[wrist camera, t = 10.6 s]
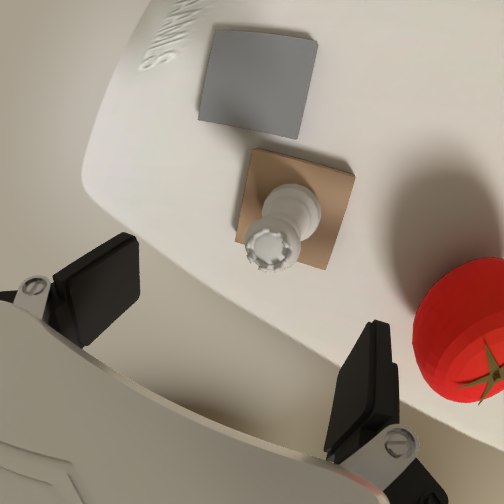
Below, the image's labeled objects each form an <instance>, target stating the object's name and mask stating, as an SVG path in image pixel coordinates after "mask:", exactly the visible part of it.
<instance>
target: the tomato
mask: <svg viewBox="0 0 504 504" xmlns="http://www.w3.org/2000/svg"><path fill="white" fill-rule="evenodd" d="M412 344H413V349H414V353H415V357H416V362H417V364H418V366H419V369H420V371H421V373H422V376H423V378H424V379H425V381H426V382H427V383H428V384H429V386H430V387H431V388H432V389H433V390H434V391H435V392H436V393H438V394H439V395H441V396H442V397H444V398H446V399H448V400H451V401H455V402H461V403H471V402H476V401H480V402H479V404H480V403H481V402H482V401H483V399H486V398H489V397H491V396H493V395H495V394H497V393H499V392H500V391H502V390H503V389H504V260H503V259H499V258H495V257H491V258H483V259H476V260H473V261H470V262H467V263H465V264H463V265H461V266H459V267H457V268H455V269H454V270H452V271H451V272H449V273H448V274H446V275H445V276H444V277H442V278H441V279H440V280H439V281H438V282H437V283H436V284H435V285H434V286H433V287H432V288H431V289H430V290H429V292H428V293H427V295H426V296H425V297H424V299H423V300H422V302H421V304H420V306H419V308H418V310H417V313H416V315H415V319H414V323H413V339H412ZM479 404H478V406H479Z"/></svg>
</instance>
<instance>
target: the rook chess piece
mask: <svg viewBox="0 0 504 504" xmlns="http://www.w3.org/2000/svg"><path fill="white" fill-rule="evenodd" d="M320 219H321V205H320V203H319V201H318V199H317V197H316V195H315V194H313V193H312V192H311V191H310V190H309V189H308V188H307V187H304V186H301V185H298V184H283V185H281V186H279V187H277V188H275V189H273V191H272V192H271V193H270V194H269V195H268V197H267V198H266V200H265V201H264V205H263V209H262V218H261V219H259V220H257V221H254V222H253V223H252V224H251V226H250V227H249V228H248V229H247V231H246V235H245V239H244V242H245V248H246V251H247V253H248V255H247V258H248V259H249V261H250V263H252V262H255V263H256V264H257V265H258V266H259V268H258V270H261V271H264V272H267V270H274V272H278V271H281V270H283V269H286V268H289V267H291V266H292V265H293V264H294V263H295V262H296V261H297V260H298V257H299V254H300V251H301V242H300V241H303V240H305V239H307V238H309V237H310V236H311V235H312V234H313V233H314V232H315V231H316V228H317V227H318V225H319V222H320Z"/></svg>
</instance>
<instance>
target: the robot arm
mask: <svg viewBox="0 0 504 504" xmlns="http://www.w3.org/2000/svg"><path fill="white" fill-rule="evenodd" d="M53 280H54V282H53V283H50V280H49V279H48V278H47V277H44V276H39V275H37V276H32V277H29V278H27V279H26V280H24V281H23V282H22V283H21V285H20V286H19V289H18V290H17V291H3V292H0V504H448V497H447V495H446V493H445V491H444V490H443V489H442V488H441V486H440V485H439V484H438V483H437V482H436V480H435V479H434V478H433V477H432V476H431V475H430V473H429V472H428V471H427V470H426V469H425V468H424V466H423V465H422V464H421V463H420V461H419V460H418V459H417V458H416V456H417V454H418V452H419V448H420V447H419V440H418V437H417V435H416V434H415V433H414V431H413V430H412V429H410V428H409V427H407V426H405V425H403V424H399V377H398V366H397V364H396V363H393V362H392V351H391V336H390V325H389V324H388V323H385V322H381V321H378V320H374V321H373V322H372V323H371V322H368V323H367V324H366V326H365V328H364V330H363V331H362V333H361V335H360V337H359V339H358V340H357V342H356V344H355V346H354V347H353V349H352V351H351V352H350V354H349V356H348V358H347V359H346V361H345V363H344V364H343V366H342V367H341V369H340V371H339V374H338V378H337V383H336V389H335V395H334V401H333V407H332V412H331V416H330V422H329V426H328V431H327V436H326V441H325V445H324V452H327V453H328V454H327V457H326V460H323V459H320V458H316V457H313V456H310V455H307V454H304V453H301V452H297V451H294V450H291V449H287V448H284V447H281V446H278V445H275V444H272V443H269V442H266V441H264V440H261V439H258V438H255V437H253V436H250V435H247V434H244V433H242V432H239V431H236V430H234V429H231V428H228V427H226V426H224V425H221V424H219V423H217V422H214V421H212V420H209V419H207V418H205V417H203V416H200V415H198V414H196V413H194V412H192V411H189V410H187V409H185V408H183V407H181V406H179V405H177V404H175V403H173V402H171V401H169V400H167V399H165V398H163V397H161V396H159V395H157V394H155V393H153V392H152V391H149V390H148V389H146V388H144V387H142V386H141V385H139V384H137V383H135V382H133V381H132V380H130V379H128V378H127V377H125V376H123V375H122V374H120V373H118V372H117V371H115V370H113V369H111V368H110V367H108V366H107V365H105V364H104V363H102V362H101V361H99V360H97V359H96V358H94V357H93V356H91V355H90V354H88V353H87V352H85V351H84V350H82V348H83V347H84V346H88V345H90V344H91V343H92V342H93V341H94V340H95V339H96V338H97V337H98V336H99V335H100V334H101V333H102V332H103V331H104V330H106V329H107V328H108V327H109V326H110V325H111V324H112V323H113V322H114V321H115V320H116V319H117V318H118V317H119V316H120V315H122V314H123V313H124V312H125V311H126V310H127V309H128V308H129V307H130V306H131V305H132V304H134V303H135V302H136V301H137V300H138V298H139V296H140V276H139V243H138V241H137V239H136V237H135V236H133V235H131V234H128V233H125V232H122V233H120V234H118V235H117V236H115V237H113V238H112V239H110V240H108V241H107V242H105V243H103V244H102V245H100V246H98V247H97V248H95V249H93V250H92V251H90V252H89V253H87V254H85V255H84V256H82V257H81V258H79V259H77V260H76V261H74V262H73V263H71V264H70V265H68V266H66V267H65V268H63V269H62V270H60V271H59V272H58V273H56V274H54V275H53ZM329 461H331V462H334V463H331V462H329Z"/></svg>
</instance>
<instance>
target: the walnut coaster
mask: <svg viewBox="0 0 504 504" xmlns="http://www.w3.org/2000/svg"><path fill="white" fill-rule="evenodd" d="M354 181H355V175H353V174H349V173H346V172H343V171H340V170H337V169H333V168H330V167H327V166H323V165H320V164H316V163H313V162H309V161H306V160H302V159H298V158H295V157H291V156H287V155H283V154H279V153H275V152H271V151H267V150H263V149H259V148H256V149H253V150H252V155H251V160H250V165H249V170H248V175H247V180H246V185H245V190H244V196H243V201H242V206H241V211H240V217H239V222H238V227H237V233H236V238H235V242H238V243H241V244H244V245H245V242H244V239H245V235H246V231H247V229H248V228H249V227H250V226H251V224H252V223H253V222H254V221H257V220H259V219H261V218H262V209H263V205H264V201H265V200H266V198H267V197H268V195H269V194H270V193H271V192H272V191H273V189H275V188H277V187H279V186H281V185H283V184H298V185H301V186H304V187H307V188H308V189H309V190H310V191H311V192H312V193H313V194H315V195H316V197H317V199H318V201H319V203H320V205H321V219H320V222H319V225H318V227H317V228H316V231H315V232H314V233H313V234H312V235H311V236H310V237H309V238H307V239H305V240H303V241H300V242H301V251H300V254H299V257H298V260H297V261H298V262H301V263H304V264H307V265H310V266H313V267H316V268H320V269H323V270H326V267H327V264H328V261H329V259H330V256H331V253H332V250H333V247H334V244H335V241H336V238H337V235H338V232H339V229H340V226H341V223H342V220H343V217H344V214H345V211H346V207H347V204H348V201H349V198H350V194H351V191H352V188H353V184H354Z"/></svg>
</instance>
